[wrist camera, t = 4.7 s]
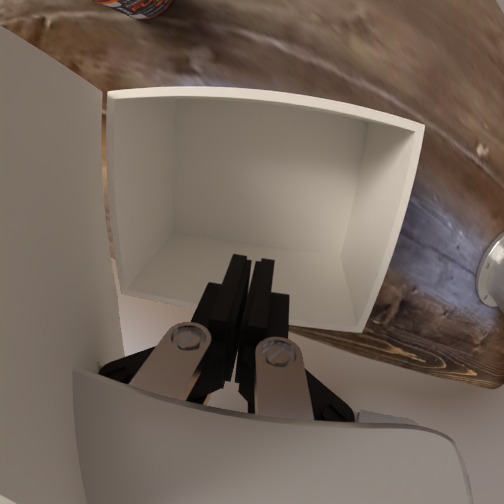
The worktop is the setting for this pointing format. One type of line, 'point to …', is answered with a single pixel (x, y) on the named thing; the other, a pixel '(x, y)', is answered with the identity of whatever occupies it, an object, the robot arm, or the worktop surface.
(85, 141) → the lid flap
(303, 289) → the carton
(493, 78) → the worktop surface
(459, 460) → the robot arm
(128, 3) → the supplement bottle
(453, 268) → the worktop surface
